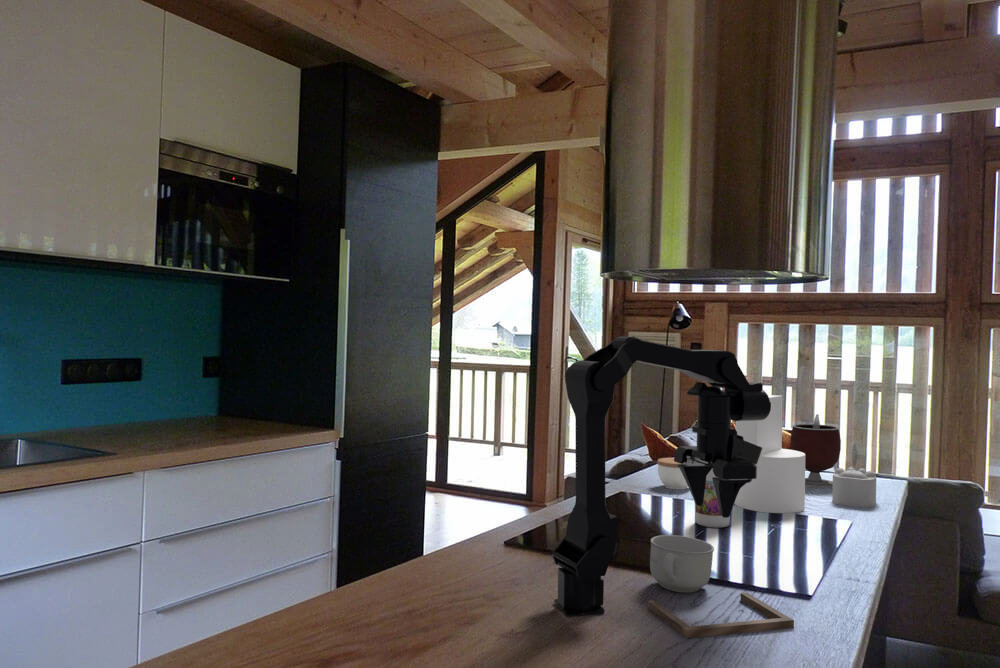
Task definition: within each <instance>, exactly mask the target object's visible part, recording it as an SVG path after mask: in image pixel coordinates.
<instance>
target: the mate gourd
mask: <svg viewBox="0 0 1000 668" xmlns="http://www.w3.org/2000/svg"><path fill="white" fill-rule="evenodd" d="M819 416H820V415H819V414H815V416H814V419H813V423H798V424H792V428H791V433H790V445H789V446H790V450H795V451H799V452H803V453H805V471H808V472H809V474H808V477H805V488H813V489H833V480H828V479H825V478H824V479H823V478H822V476H821V473H822V472H824V471H827V470H829V469H833V468H834V466H835V465H836V464H837V463H838V462H839V459H840V455H841V450H842V447H841V446H842V444H841V443H842V440H841V433H840V428H839V427H837V426H835V425H834V426H833V425H826V424H820V423H821V422H820V421H821V420H820V417H819Z"/></svg>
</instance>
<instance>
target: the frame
mask: <svg viewBox="0 0 1000 668" xmlns="http://www.w3.org/2000/svg"><path fill="white" fill-rule="evenodd" d="M740 601H741V602H743V603H745V604H746V605H748V606H749V607H751V608H752V609H754V610H756V611H757V612H759V613H760V614H762V615H763V616H766V617H768V618H767V619H757V620H745V621H735V622H734V621H733V622H723V623H713V624H704V625H703V624H702V625H691V626H690V625H689V624H687V623H686V622H684V620H682V619H680V618H679V617H678V616H676V614H674V613H672V611H670V610H669V609H668V608H666V607H665V606H663V605H662V604H661V603H660V602H658V601H657V600H655V599H654V600H653V599H652V600H648V601H647V604H648V605H647V606H648V607H647V608H648V609H649V610H650V611H651V612H652V613H653V614H655V615H656V616H658V617H659V618H660V619H661V620H662V621H664V622H665V623H666V624H667V625H669V626H670V627H671V628H673V629H674V630H675V631H676V632H678V633H679V634H681V636H683V637H684V638H685V639H694V638H705V637H714V636H717V637H718V636H725V635H737V634H745V633H756V632H758V633H759V632H766V631H775V630H785V629H795V620H794V619H793V618H791V617H790V616H788V615H786V614H784V613H782V612H781V611H780V610H777V609H776V608H774V607H772V606H771V605H769V604H768V603H765V602H764V601H763V600H760V599H759V598H757V597H755V596H754V595H752V594H750V593H749V592H741V593H740Z"/></svg>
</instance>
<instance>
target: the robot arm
mask: <svg viewBox="0 0 1000 668" xmlns="http://www.w3.org/2000/svg"><path fill="white" fill-rule="evenodd" d="M635 363H640V364H645V365H651V366H656V367H660V368H665V369H670V370H676V371H678V372H681V373H683V374H684V375H686V376H688V377H689V378H692V379H695V380H697V381H696V382H695V383H694V385H693V386H692V387H691V388H690V389H689V390H687V392H686V394H687V395H688V396H691V397H692V396H693V397H697V410H696V411H697V412H696V415H697V418H696V425H692V430H691V432H692V433H695V434H696V445H690V446H687V445H685V446H678V447H677V448H676V449H675V450H674V452H673V458H674V461H675V462H677V463H680V464H677V465H678V467H679V468H680V470H681V472H682V474H683V476H684V478H685V481H686V483H687V485H688V487H687V488H688V489H689V492H690V493H691V496H692V498H693V501H694V503H695V506H696V505H697V506H702V505H703V500H704V493H705V484H706V476H707V474H708V473H709V472H710V471H711V469H712V468H713V473H714V475H715V476H716V477H712V479H713V483H714V488H715V491H716V495H717V499H718V503H719V507H720V511H721V514H722V517H724V518H728V517H729V516H730V517H731V512H732V509H733V507H734V505H735V504H734V502H735V500H736V497H737V494H738V492H739V490H740V488H741V487H742V486H744V485H745V484H746V483H750V482H751V481H752V479H756V478H757V467H756V465H757V463H758V460H759V457H760V454H761V451H762V447H759V446H757V445H754V444H752V443H749V442H747V441H744V439H743V436H740V435H737V431H736V428H732V422H733V421H734V422H736V421H754V420H764V419H766V418H767V417H768V415H769V413H770V410H771V402H770V400H769V397H768V395H769V394H768V393H767V392H766V391H765V390H764V389H763V386H764V384H763V383H762V382H754V381H753V382H749V381H748V379H747V378H746V376H745V374H744V372H743V370H742V369H741V367H740V366H739V363H738V359H737V357H736V354H735V353H734V352H732V351H729V350H719V349H717V350H716V349H715V350H714V349H688V348H687V349H686V348H682V347H677V346H673V345H667V344H663V343H660V342H654V341H649V340H644V339H640V338H639V337H636V336H618V337H615V338H614V339H613V340H611V341H610V342H609V343H607V344H606V345H604V346H603V347H601V348H600V349H598V350H596V351H594V352H592V353H591V354H589V355H587V356H586V357H585V358H584V359H583V360H581V359H580V360H578V361H575V362H573V363H571V365H570V366H569V367H568V368H566V372H565V376H564V382H565V387H566V394H567V399H568V402H569V404H570V406H571V409H572V411H573V414H574V416H575V503H574V506H573V508H572V510H571V512H570V514H569V516H568V517H567V525H566V531H565V536H564V537H563V538H562V540H561V541H560V542H559V543H558V544H557V545H556V547H554V548H553V551H552V552H551V556H552V560H553V563H554V565H557V566H559V567H558V568H557V599H556V598H555V599H554V600H553V602H554V603H553V604H555V605H556V607H558V609H560V610H561V611H562V613H563V614H564V615H565V616H567V617H569V616H571V617H573V616H583V615H596V614H603V613H605V611H606V609H605V608H604V600H605V599H604V596H605V595H604V594H605V593H604V591H605V590H604V589H605V587H604V583H605V582H604V581H605V580H604V579H603V578H602V577H605V576H606V574H607V570H608V568H609V565H610V562H611V558H612V557H613V556H614V555H615V554H616V551H617V543H620V542H621V540H620V538H619V537H620V536H619V526H620V520H619V516H616V515H614V514H611V513H609V510H608V508H607V503H606V417H607V415H608V412H609V410H610V408H611V406H612V404H613V402H614V396H615V392H616V384H618V383H619V382H620V381H621V380H622V379H623V378H625V377H626V376H627V375H628V373H629V371H630V370H631V368H632V367H633V365H634V364H635ZM706 383H707V384H708V385H709V386H708V385H707V384H706ZM755 464H756V465H755Z"/></svg>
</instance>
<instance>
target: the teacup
mask: <svg viewBox="0 0 1000 668" xmlns="http://www.w3.org/2000/svg"><path fill="white" fill-rule="evenodd" d="M714 551H715V547H714V546H713V545H712V544H711V543H709V542H707V541H705V540H702V539H698V538H695V537H691V536H685V535H675V534H673V535H672V534H666V535H665V534H662V535H656V536H653V537H652V538H650V552H649V553H650V556H649V570H650V574H651V575H652V577H653V579H654V580H655V581H656V582H657V583H658V584H659V585H660V587H662V588H664V589H665V590H668V591H671V592H676V593H684V594H685V593H687V594H688V593H695V592H697V591H699V590H700V589H702V588H703V587H705V586H706V585H707V584H708V583H709V581H710V579H711V574H712V567H713V556H714Z"/></svg>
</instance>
